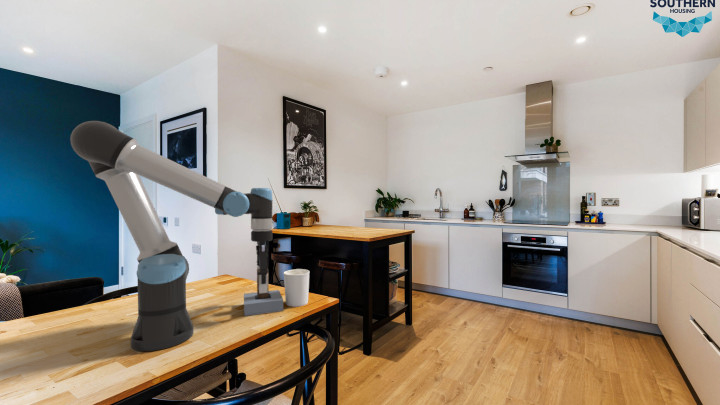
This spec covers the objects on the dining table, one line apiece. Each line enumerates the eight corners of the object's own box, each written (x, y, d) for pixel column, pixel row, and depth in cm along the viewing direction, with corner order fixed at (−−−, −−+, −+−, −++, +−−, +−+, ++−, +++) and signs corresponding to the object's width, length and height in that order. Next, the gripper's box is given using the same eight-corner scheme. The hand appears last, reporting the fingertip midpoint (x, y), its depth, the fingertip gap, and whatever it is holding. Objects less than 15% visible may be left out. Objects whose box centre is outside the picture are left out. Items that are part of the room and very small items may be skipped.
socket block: (244, 316, 106) (244, 304, 106) (243, 304, 118) (243, 293, 118) (283, 310, 111) (283, 299, 111) (278, 299, 123) (278, 289, 123)
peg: (269, 308, 113) (268, 270, 113) (257, 310, 112) (257, 271, 112) (268, 305, 117) (267, 268, 117) (257, 306, 116) (256, 269, 116)
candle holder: (307, 307, 114) (306, 275, 114) (280, 307, 114) (280, 275, 114) (312, 298, 124) (311, 268, 124) (287, 299, 124) (287, 269, 124)
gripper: (276, 232, 104) (276, 296, 104) (269, 227, 127) (269, 278, 127) (252, 233, 101) (252, 298, 101) (249, 227, 124) (250, 280, 125)
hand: (262, 287), depth 114 cm, fingers open, 13 cm apart
